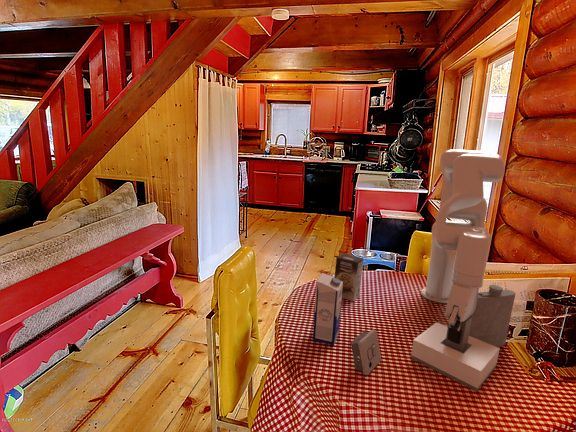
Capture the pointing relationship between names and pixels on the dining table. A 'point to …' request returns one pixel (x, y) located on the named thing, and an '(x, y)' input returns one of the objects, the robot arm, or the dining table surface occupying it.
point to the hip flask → (492, 316)
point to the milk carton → (327, 309)
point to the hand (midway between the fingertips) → (457, 337)
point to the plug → (464, 335)
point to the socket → (455, 357)
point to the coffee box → (349, 275)
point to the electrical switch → (366, 351)
